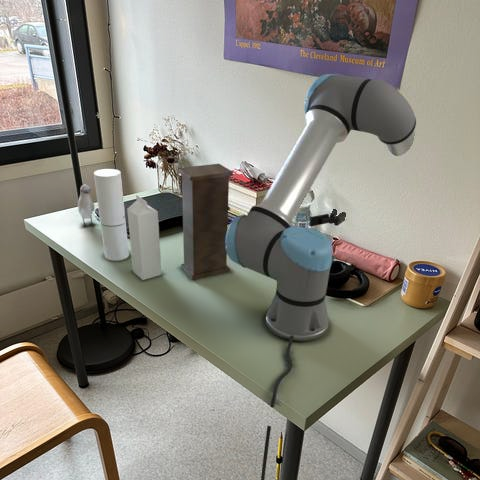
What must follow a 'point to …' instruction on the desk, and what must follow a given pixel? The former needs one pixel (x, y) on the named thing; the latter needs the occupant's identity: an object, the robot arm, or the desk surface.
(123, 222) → the cylindrical container
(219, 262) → the wooden pedestal column
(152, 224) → the milk
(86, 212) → the bird
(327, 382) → the desk surface
